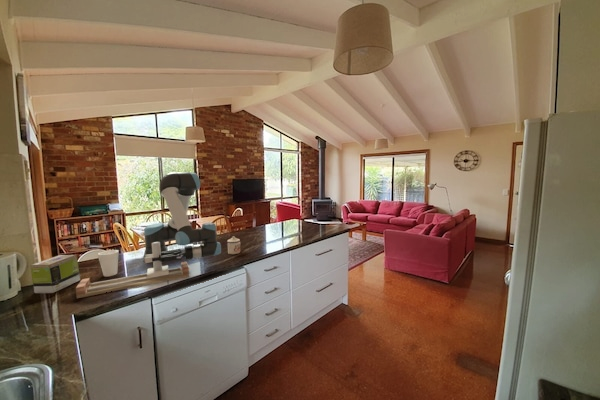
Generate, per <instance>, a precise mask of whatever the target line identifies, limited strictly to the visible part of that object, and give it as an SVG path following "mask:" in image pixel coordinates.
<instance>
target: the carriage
mask: <svg viewBox="0 0 600 400" xmlns="http://www.w3.org/2000/svg"><path fill="white" fill-rule="evenodd" d="M152 255H153V256H159V255H160V256H161V248H160V242H153V243H152ZM162 263H163V262H161V261H156V262H152V264H153V267H149V268H147V272H146V273H147V278H152V277H158V276H163V275H169V270H168V269H169V265H168V264H166V265H163V264H162Z"/></svg>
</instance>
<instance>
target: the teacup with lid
mask: <svg viewBox="0 0 600 400" xmlns="http://www.w3.org/2000/svg"><path fill="white" fill-rule="evenodd" d="M226 242H227V253H228V255H237V254H240V253H241V240H240V238H237V237H235V236H232V237H230V238H229V239H227V241H226Z"/></svg>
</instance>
